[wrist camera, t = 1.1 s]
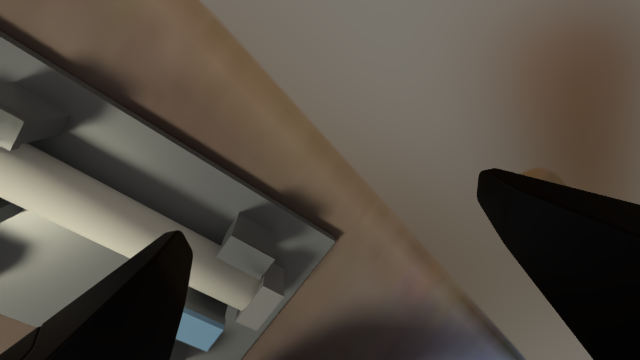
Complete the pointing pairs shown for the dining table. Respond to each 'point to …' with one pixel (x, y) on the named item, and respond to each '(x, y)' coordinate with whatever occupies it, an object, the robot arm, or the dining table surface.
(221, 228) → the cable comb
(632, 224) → the robot arm
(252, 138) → the dining table surface
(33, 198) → the cream cylindrical rod
